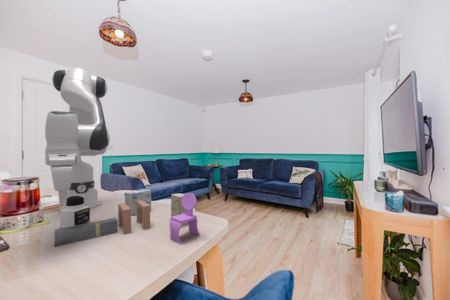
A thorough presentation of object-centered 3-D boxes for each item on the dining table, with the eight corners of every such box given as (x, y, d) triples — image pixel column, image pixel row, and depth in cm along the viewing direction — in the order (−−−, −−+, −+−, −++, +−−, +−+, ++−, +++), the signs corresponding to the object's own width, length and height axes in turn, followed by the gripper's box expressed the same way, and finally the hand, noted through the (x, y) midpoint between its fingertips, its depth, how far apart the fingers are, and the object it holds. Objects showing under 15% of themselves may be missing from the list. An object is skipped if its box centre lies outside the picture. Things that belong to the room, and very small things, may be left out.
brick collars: (118, 225, 81) (118, 203, 81) (142, 220, 87) (142, 200, 87) (124, 234, 73) (123, 210, 73) (150, 227, 78) (150, 205, 78)
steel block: (55, 242, 67) (55, 228, 67) (115, 229, 78) (115, 217, 78) (54, 247, 63) (54, 232, 63) (117, 232, 74) (117, 220, 74)
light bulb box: (144, 208, 105) (144, 188, 105) (151, 210, 101) (151, 189, 101) (124, 213, 97) (124, 191, 97) (131, 216, 93) (131, 193, 93)
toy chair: (167, 238, 69) (166, 195, 69) (187, 230, 76) (187, 191, 76) (181, 245, 64) (181, 198, 64) (202, 236, 70) (201, 194, 70)
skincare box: (170, 223, 83) (170, 194, 83) (179, 220, 86) (179, 192, 86) (179, 227, 79) (179, 196, 79) (188, 224, 82) (188, 194, 82)
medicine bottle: (74, 229, 78) (74, 198, 78) (59, 228, 79) (59, 198, 79) (90, 222, 85) (90, 194, 85) (76, 221, 86) (76, 194, 86)
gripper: (52, 158, 73) (53, 196, 73) (47, 160, 57) (48, 208, 56) (74, 158, 77) (74, 194, 76) (75, 159, 60) (76, 204, 60)
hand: (63, 200), depth 66 cm, fingers open, 8 cm apart
